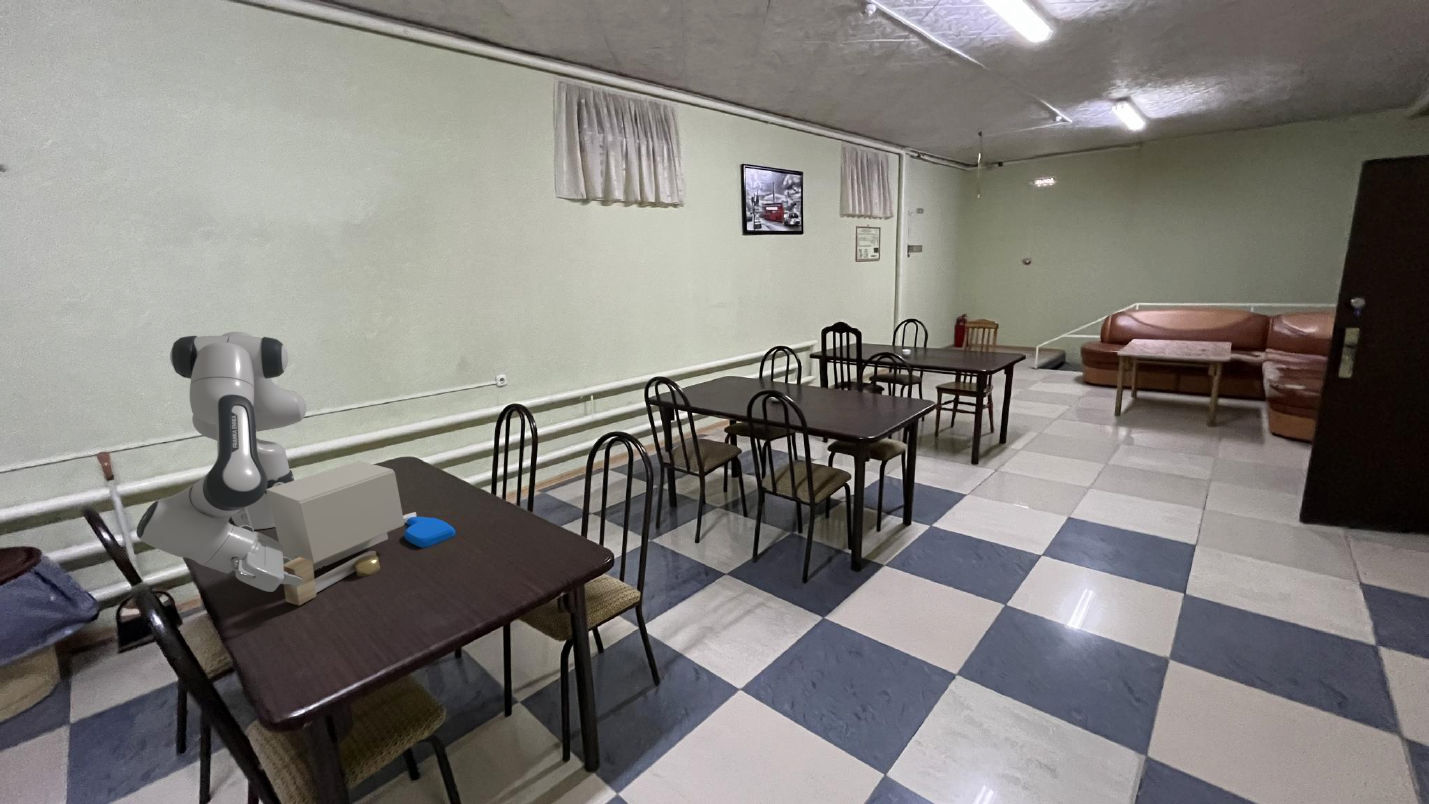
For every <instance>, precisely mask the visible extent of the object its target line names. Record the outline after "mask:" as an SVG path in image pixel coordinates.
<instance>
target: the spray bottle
mask: <svg viewBox="0 0 1429 804" xmlns="http://www.w3.org/2000/svg"><path fill="white" fill-rule="evenodd" d="M403 519H404V524H406V525H407V526H409V527H407V529H406V530H405V531H404V533H403V534H404V535H403V538H404V539H405V541H407V542H409V544H412V545H415V546H416V547H418V548H423V549H424V548H429V547H431V546H434V545H436V544H439V543H441V542H445V541H447V540H450V539H451V538H454V537H455V536H456V530H455V528H454V527H453V526H451V525H450V524H448V523H447V522H446V521H444V520H442V519H438V518H436V517H426V516H425V517H424V516H417V512H416V511H414V512H410V513H406V514H404V515H403ZM449 538H450V539H449Z"/></svg>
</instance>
